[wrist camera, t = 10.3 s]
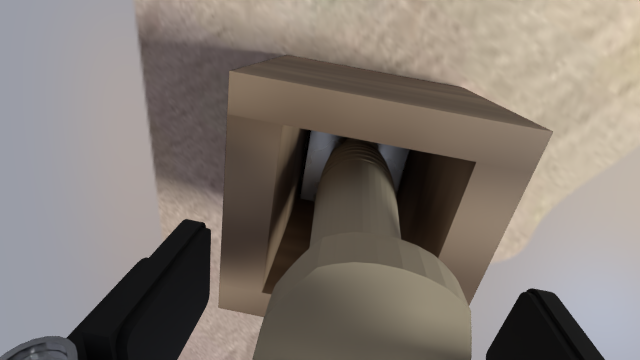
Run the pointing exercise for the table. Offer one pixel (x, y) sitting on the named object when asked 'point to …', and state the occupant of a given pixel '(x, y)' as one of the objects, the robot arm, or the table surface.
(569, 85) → the table surface
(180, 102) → the table surface
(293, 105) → the sleeve
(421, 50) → the table surface
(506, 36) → the table surface
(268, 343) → the handle
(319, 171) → the dark glossy panel
